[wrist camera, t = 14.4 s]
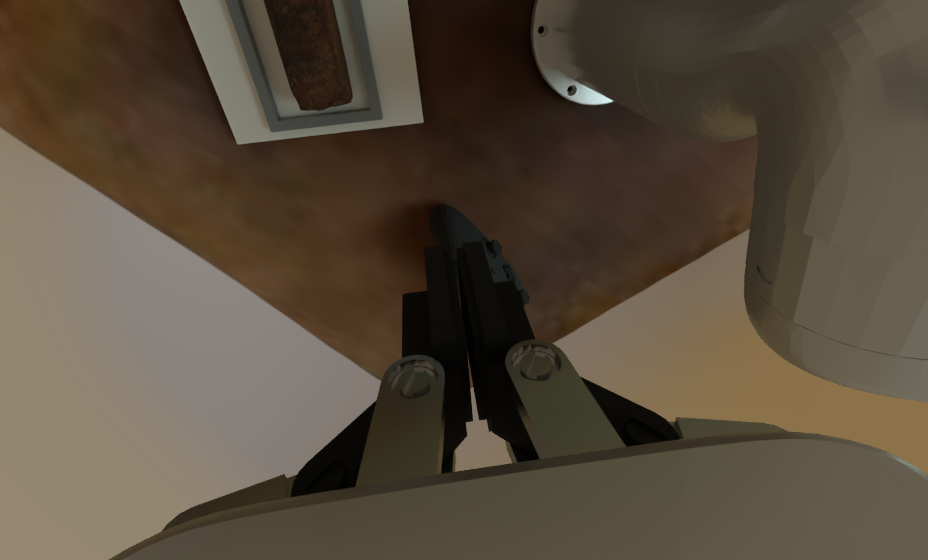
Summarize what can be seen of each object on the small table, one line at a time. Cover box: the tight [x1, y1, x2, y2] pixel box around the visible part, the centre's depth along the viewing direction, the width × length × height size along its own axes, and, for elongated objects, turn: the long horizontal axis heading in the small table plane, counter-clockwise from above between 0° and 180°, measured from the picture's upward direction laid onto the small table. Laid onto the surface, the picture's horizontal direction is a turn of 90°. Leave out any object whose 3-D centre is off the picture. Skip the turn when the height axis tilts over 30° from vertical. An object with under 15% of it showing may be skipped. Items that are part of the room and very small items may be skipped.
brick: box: [263, 0, 353, 111], centre depth 29 cm, size 11×4×5 cm, turn 4°
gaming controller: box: [429, 205, 529, 307], centre depth 41 cm, size 14×6×10 cm, turn 37°
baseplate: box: [179, 0, 424, 144], centre depth 31 cm, size 16×16×2 cm
